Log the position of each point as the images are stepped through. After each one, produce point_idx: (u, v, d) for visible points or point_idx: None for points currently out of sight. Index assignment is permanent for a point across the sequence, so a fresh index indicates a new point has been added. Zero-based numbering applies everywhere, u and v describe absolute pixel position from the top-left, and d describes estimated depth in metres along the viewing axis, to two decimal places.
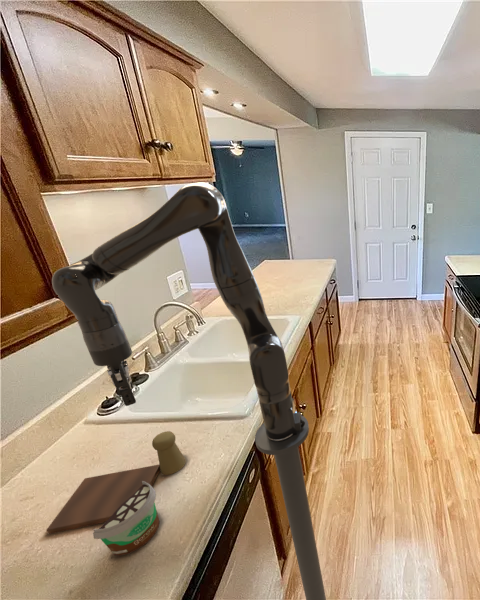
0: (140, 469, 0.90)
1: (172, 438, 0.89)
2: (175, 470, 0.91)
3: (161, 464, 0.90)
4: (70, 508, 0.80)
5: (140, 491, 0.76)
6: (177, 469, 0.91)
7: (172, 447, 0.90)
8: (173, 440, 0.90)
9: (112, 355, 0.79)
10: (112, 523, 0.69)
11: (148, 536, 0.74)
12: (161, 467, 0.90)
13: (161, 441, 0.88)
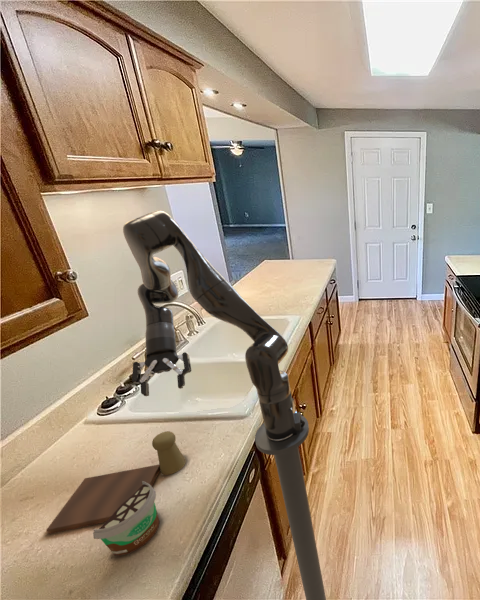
0: (140, 469, 0.90)
1: (172, 438, 0.89)
2: (175, 470, 0.91)
3: (161, 464, 0.90)
4: (70, 508, 0.80)
5: (140, 491, 0.76)
6: (177, 469, 0.91)
7: (172, 447, 0.90)
8: (173, 440, 0.90)
9: None
10: (112, 523, 0.69)
11: (148, 536, 0.74)
12: (161, 467, 0.90)
13: (161, 441, 0.88)
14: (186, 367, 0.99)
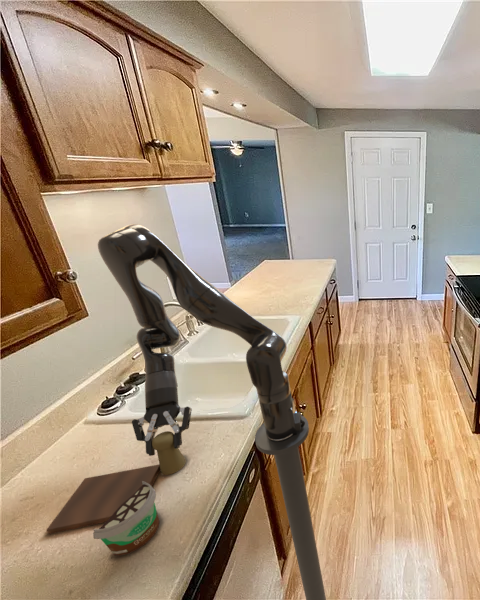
0: (140, 469, 0.90)
1: (172, 438, 0.89)
2: (175, 470, 0.91)
3: (161, 464, 0.90)
4: (70, 508, 0.80)
5: (140, 491, 0.76)
6: (177, 469, 0.91)
7: (172, 447, 0.90)
8: (173, 440, 0.90)
9: None
10: (112, 523, 0.69)
11: (148, 536, 0.74)
12: (161, 467, 0.90)
13: (161, 441, 0.87)
14: (184, 424, 0.91)
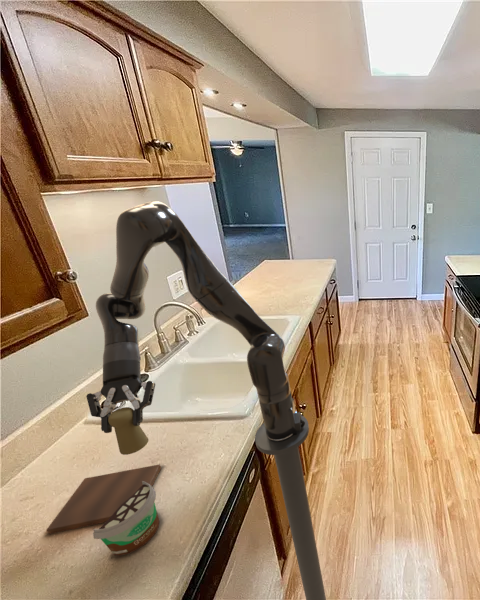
0: (140, 469, 0.90)
1: (131, 414, 0.81)
2: (135, 449, 0.83)
3: (119, 443, 0.82)
4: (70, 508, 0.80)
5: (140, 491, 0.76)
6: (137, 448, 0.83)
7: (131, 424, 0.82)
8: (132, 417, 0.82)
9: None
10: (112, 523, 0.69)
11: (148, 536, 0.74)
12: (119, 446, 0.82)
13: (117, 416, 0.80)
14: (145, 400, 0.83)
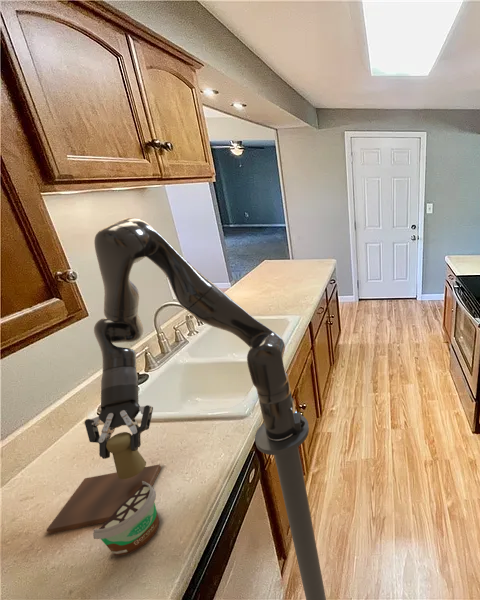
0: None
1: (129, 439, 0.82)
2: (133, 474, 0.84)
3: (117, 467, 0.83)
4: (70, 508, 0.80)
5: (140, 491, 0.76)
6: (135, 473, 0.84)
7: (129, 449, 0.83)
8: (130, 442, 0.83)
9: None
10: (112, 523, 0.69)
11: (148, 536, 0.74)
12: (117, 471, 0.83)
13: (115, 442, 0.81)
14: (143, 425, 0.84)
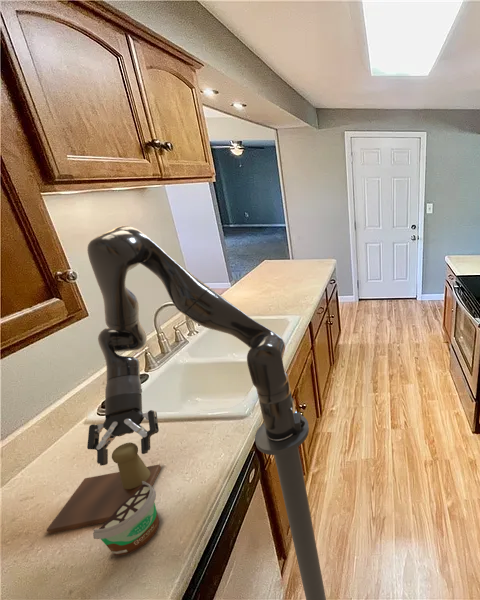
0: None
1: (134, 450, 0.84)
2: (137, 484, 0.85)
3: (122, 478, 0.84)
4: (70, 508, 0.80)
5: (140, 491, 0.76)
6: (140, 483, 0.86)
7: (134, 459, 0.84)
8: (135, 452, 0.84)
9: None
10: (112, 523, 0.69)
11: (148, 536, 0.74)
12: (122, 481, 0.84)
13: (121, 453, 0.82)
14: (152, 428, 0.86)
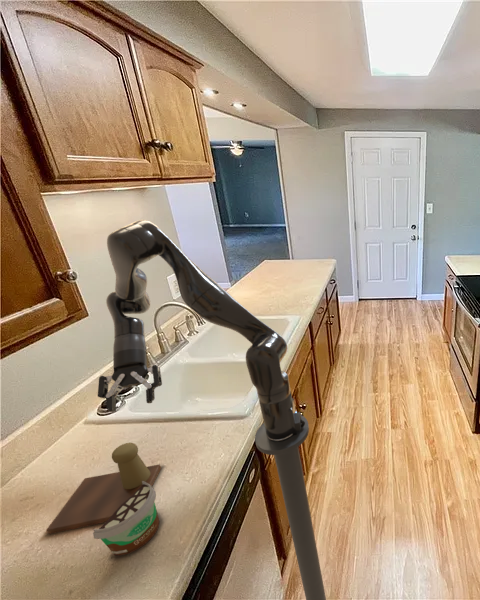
0: None
1: (134, 450, 0.84)
2: (137, 484, 0.85)
3: (122, 478, 0.84)
4: (70, 508, 0.80)
5: (140, 491, 0.76)
6: (140, 483, 0.86)
7: (134, 459, 0.84)
8: (135, 452, 0.84)
9: None
10: (112, 523, 0.69)
11: (148, 536, 0.74)
12: (122, 481, 0.84)
13: (121, 453, 0.82)
14: (156, 381, 0.95)
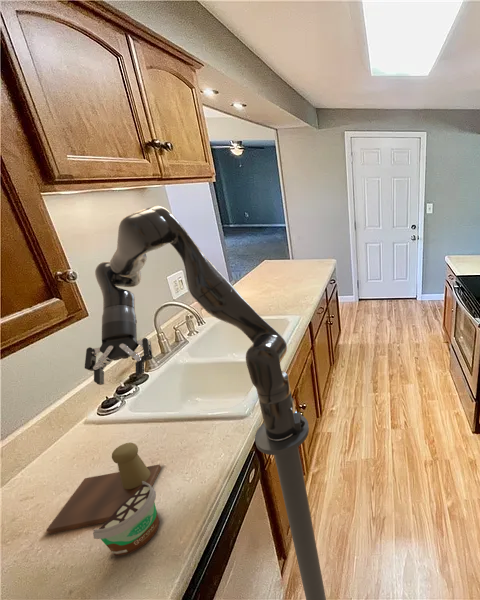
0: None
1: (134, 450, 0.84)
2: (137, 484, 0.85)
3: (122, 478, 0.84)
4: (70, 508, 0.80)
5: (140, 491, 0.76)
6: (140, 483, 0.86)
7: (134, 459, 0.84)
8: (135, 452, 0.84)
9: None
10: (112, 523, 0.69)
11: (148, 536, 0.74)
12: (122, 481, 0.84)
13: (121, 453, 0.82)
14: (146, 354, 0.91)
